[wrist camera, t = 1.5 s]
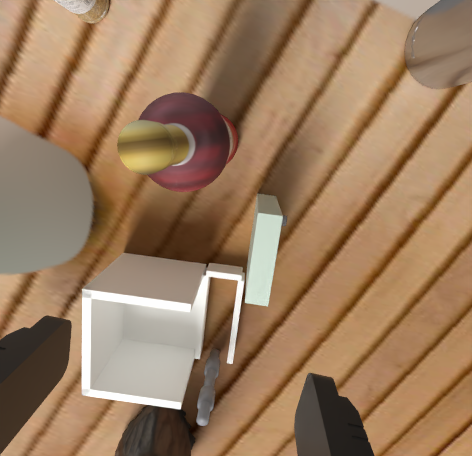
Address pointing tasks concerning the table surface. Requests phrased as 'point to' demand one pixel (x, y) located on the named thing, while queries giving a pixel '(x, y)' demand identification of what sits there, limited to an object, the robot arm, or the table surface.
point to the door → (263, 249)
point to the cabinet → (151, 330)
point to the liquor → (179, 142)
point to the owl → (157, 434)
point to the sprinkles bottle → (87, 9)
